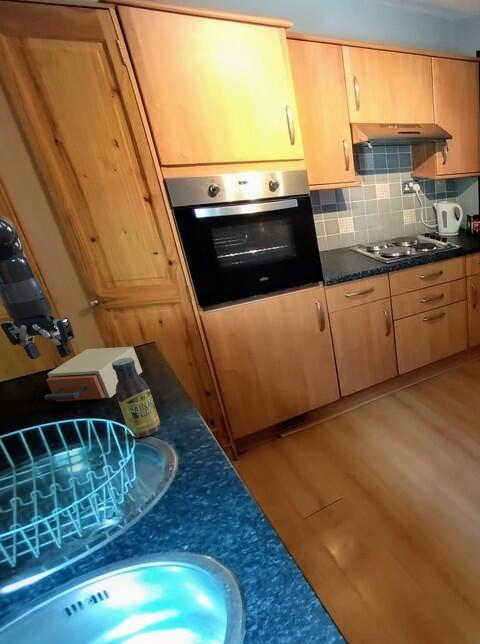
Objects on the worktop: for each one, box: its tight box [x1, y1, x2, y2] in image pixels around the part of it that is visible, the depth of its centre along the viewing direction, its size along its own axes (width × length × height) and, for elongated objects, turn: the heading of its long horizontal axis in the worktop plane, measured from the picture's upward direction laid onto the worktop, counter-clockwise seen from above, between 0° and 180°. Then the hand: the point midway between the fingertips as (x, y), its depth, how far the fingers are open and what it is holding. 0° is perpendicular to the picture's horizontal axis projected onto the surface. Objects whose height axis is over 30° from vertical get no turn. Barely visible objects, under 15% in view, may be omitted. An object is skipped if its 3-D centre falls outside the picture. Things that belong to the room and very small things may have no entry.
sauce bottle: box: [112, 358, 161, 439], centre depth 109 cm, size 7×6×20 cm
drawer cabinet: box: [46, 346, 143, 399], centre depth 131 cm, size 15×13×9 cm
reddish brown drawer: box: [44, 374, 105, 402], centre depth 127 cm, size 19×12×7 cm, turn 7°
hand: (51, 356), depth 116 cm, fingers open, 6 cm apart
